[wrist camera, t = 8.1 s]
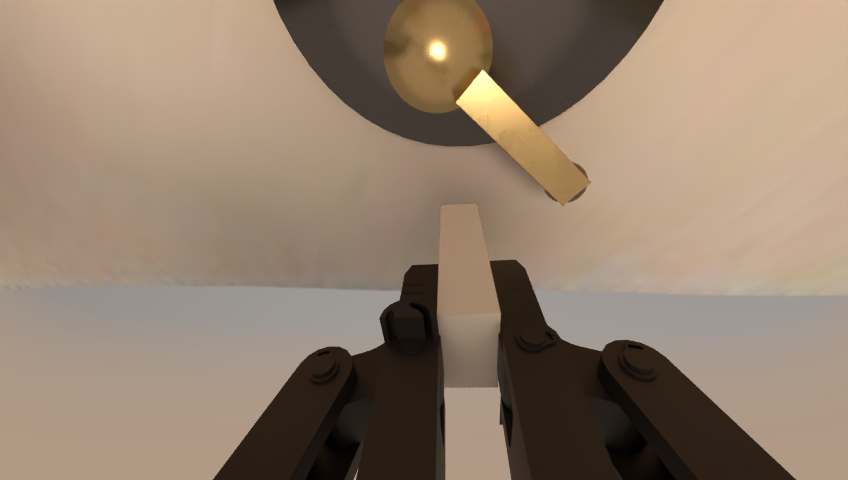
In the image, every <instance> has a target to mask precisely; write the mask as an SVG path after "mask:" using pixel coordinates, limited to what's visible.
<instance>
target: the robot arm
mask: <svg viewBox="0 0 848 480" xmlns="http://www.w3.org/2000/svg"><path fill="white" fill-rule="evenodd" d="M380 323H381V327H382V331H383V336H384V341H385V343H384V344H382V345H380V346H379V347H377V348H375V349H373V350H370V351H367V352H364V353H361V354H357V355H354V356H351V355H350V354H349V353H348V351H347V350H345V349H343V348H341V347H326V348H323V349H319V350H317V351H316V352H314V353H312V354H311V355H309V356H308V357H307V358H306V359H305V360H304V361H303V362H302V363H301V364H300V365H299V366H298V367H297V369H296V370H295V372H294V373H293V374H292V375H291V377H290V378H289V379H288V381H287V382H286V383H285V385H284V386H283V387H282V389H281V390H280V391H279V393H278V394H277V395H276V397H275V398H274V399H273V401H272V402H271V403H270V405H269V406H268V407H267V409H266V410H265V411H264V413H263V414H262V415H261V417H260V418H259V419H258V421H257V422H256V423H255V425H254V426H253V427H252V429H251V430H250V431H249V432H248V434H247V435H246V436H245V438H244V439H243V440H242V442H241V443H240V445H239V446H238V447H237V449H236V450H235V451H234V452H233V454H232V455H231V457H230V458H229V459H228V460H227V462H226V463H225V464H224V466H223V467H222V468H221V470H220V471H219V472H218V474H217V475H216V476H215V478H214V479H213V480H353V479H354V477H355V475H356V472H357V470H358V473H357V478H356V480H445V402H444V387H498V381H499V386H500V393H501V403H500V425H501V424H502V425H503V428H504V434H505V441H506V447H507V454H508V460H509V467H510V473H511V479H512V480H796V479H795V478H793V477H792V476H791V475H790V474H789V473H788V472H787V471H786V470H785V469H784V468H783V467H782V466H781V465H780V464H779V463H778V462H777V461H776V460H774V459H773V458H772V457H771V456H770V455H769V454H768V453H767V452H766V451H765V450H764V449H763V448H762V447H761V446H759V444H757V443H756V442H755V441H754V440H753V439H752V438H751V437H750V436H749V435H748V434H747V433H746V432H745V431H744V430H742V429H741V428H740V427H739V426H738V425H737V424H736V423H735V422H734V421H733V420H732V419H731V418H730V417H729V416H728V415H727V414H726V413H724V412H723V411H722V410H721V409H720V408H719V407H718V406H717V405H716V404H715V403H714V402H713V401H712V400H711V399H710V398H708V397H707V396H706V395H705V394H704V393H703V392H702V391H701V390H700V389H699V388H698V387H696V385H695V384H693V382H691V381H690V380H689V379H688V378H687V377H686V376H685V375H684V374H683V373H682V372H680V370H679V369H678V368H677V367H676V366H674V365H673V364H672V363H671V362H670V361H669V360H668V359H667V358H666V357H665V356H663V355H662V354H660V353H659V352H658V351H656V350H655V349H653V348H651V347H649V346H647V345H644V344H642V343H639V342H635V341H630V340H617V341H616V340H615V341H613V342H611V343H609V344H607V345H606V346H605V348H604V349H603V351H597V350H593V349H589V348H584V347H580V346H577V345H574V344H570V343H568V342H566V341H564V340H562V339H561V338H560V337H559V335H558V334H557V333H556V331H555V330H553V329H552V328H550V327H549V326H548V325H547V324H546V321H545V319H544V316H543V314H542V311H541V308H540V306H539V303H538V301H537V298H536V295H535V293H534V290H533V289H532V285H531V283H530V281H529V277H528V275H527V272H526V270H525V268H524V267H523V266H522V265H521V264H520V263H518V262H517V261H516V260H499V261H489V258H488V253H487V248H486V244H485V239H484V235H483V230H482V226H481V221H480V217H479V212H478V207H477V203H469V204H453V205H441V210H440V239H439V264H431V265H412V266H411V267H410V269H409V270H408V271H407V272H406V273H405V276H404V281H403V287H402V291H401V296H400V300H399V301H397V302H395V303H393V304H391V305H389V306H388V307H387V308H386V309H385V310H384V311H383V313H382V314H381V316H380Z"/></svg>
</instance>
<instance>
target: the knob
mask: <svg viewBox="0 0 848 480" xmlns="http://www.w3.org/2000/svg"><path fill="white" fill-rule="evenodd" d="M492 53H493V41H492V34H491V30H490V26H489V23H488V21H487V18H486V16H485V14H484V12H483V11H482V9H481V8H480V6H479V5H478V4H477V3H476V2H475V1H474V0H404V1H403V2H402V3H401V4H400V5H399V6H398V7H397V9H396V10H395V12H394V13H393V15H392V17H391V19H390V21H389V24H388V26H387V29H386V33H385V37H384V45H383V56H384V64H385V69H386V72H387V76H388V78H389V80H390V83H391V84H392V86H393V88H394V89H395V91H396V92H397V93H398V95H399V96H400V97H401V98H402V99H403V100H404V101H405V102H407V103H408V104H409V105H411V106H412V107H414V108H416V109H418V110H421V111H424V112H428V113H445V112H449V111H453V110H455V109H457V108H460V107H461V108H462V109H463V110H464V111H465V112H466V113H467V114H468V115H469V116H470V117H471V118H472V119H473V120H474V121H475V122H477V123H478V124H479V125H480V126H481V127H482V128H483V129H484V130H485V131H486V132H487V133H488V134H489V135H490V136H491V137H492V138H493V139H494V140H495V141H496V142H497V143H498V144H499V145H500V146H501V147H502V148H503V149H504V150H505V151H506V152H507V153H509V154H510V155H511V156H512V157H513V158H514V159H515V160H516V161H517V162H518V163H519V164H520V165H521V166H522V167H523V168H524V169H525V170H526V171H527V172H528V173H529V174H530V175H531V176H532V177H533V178H534V179H535V180H536V181H537V182H538V183H539V184H541V185H542V186H543V187H544V190H545V193H546V194H547V195H548V197H549V198H551V199H552V200H554V201H556V202H559V203H560V204H561V205H562V206H563V205H565V204H566V203H568V202H572V201H574V200H576V199H578V198H579V197H580V196H581V195H582V194H583V193H584V192H585V190H586V187H587V186H588V185H589V184H590V183H591V182H590V181H589V180H588V177H587V174H586V172H585V170H584V169H583V168H582V167H581V166H580V165H578V164H576V163H574V162H571V161H570V160H569V159H568V158H567V157H566V156H565V155H564V154H563V153H562V152H561V151H560V149H559V148H558V147H557V146H556V145H555V144H554V143H553V142H552V141H551V140H550V139H549V138H548V137H547V136H546V135H545V134H544V133H543V132H542V131H541V130H540V129H539V128H538V127H537V126H536V125H535V124H534V122H533V121H532V120H531V119H530V118H529V117H528V116H527V115H526V114H525V113H524V112H523V111H522V110H521V109H520V108H519V107H518V106H517V105H516V104H515V103H514V102H513V101H512V100H511V99H510V98H509V97H508V95H507V94H506V93H505V92H504V91H503V90H502V89H501V88H500V87H499V86H498V85H497V84H496V83H495V82H494V81H493V80H492V79H491V78H490V77H489V76H488V73H489V69H490V66H491V61H492Z"/></svg>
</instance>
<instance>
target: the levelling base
mask: <svg viewBox="0 0 848 480" xmlns="http://www.w3.org/2000/svg"><path fill="white" fill-rule="evenodd" d="M273 1H274V3H275V5H276V8H277V10H278V13H279V15H280V17H281V19H282V21H283V22H284V24H285V26H286V28H287V30H288V32H289V34H290V35H291V37H292V39H293V41H294V43H295V44H296V46H297V47H298V49H299V50H300V52H301V53H302V55H303V56H304V57H305V59H306V60H307V62H308V63H309V65H310V66H311V67H312V69H313V70H314V71H315V72H316V73H317V75H318V76H319V77H320V78H321V79H322V80H323V82H324V83H325V84H326V85H327V86H328V87H329V88H330V89H331V90H332V91H333V92H334V93H335V94H336V95H337V96H338V97H339V98H340V99H341V100H342V101H343V102H344V103H346V104H347V105H348V106H349V107H351V108H352V109H353V110H355V111H356V112H358V113H359V114H360V115H362V116H363V117H364V118H366V119H367V120H369V121H371V122H373V123H374V124H376V125H378V126H380V127H382V128H383V129H385V130H387V131H390V132H392V133H395V134H397V135H400V136H402V137H405V138H408V139H412V140H415V141H419V142H423V143H427V144H435V145H443V146H473V145H480V144H487V143H493V142H496V141H495V140H494V139H493V138H492V137H491V136H490V135H489V134H488V133H487V132H486V131H485V130H484V129H483V128H482V127H481V126H480V125H479V124H478V123H477V122H475V121H474V120H473V119H472V118H471V117H470V116H469V115H468V114H467V113H466V112H465V111H464V110H463V109H462V108H461V107H460V108H457V109H455V110H453V111H449V112H445V113H428V112H424V111H421V110H418V109H416V108H414V107H412V106H411V105H409V104H408V103H407V102H405V101H404V100H403V99H402V98H401V97H400V96H399V95H398V93H397V92H396V91H395V89H394V88H393V86H392V84H391V83H390V80H389V78H388V76H387V72H386V69H385V64H384V56H383V45H384V37H385V33H386V29H387V26H388V24H389V21H390V19H391V17H392V15H393V13H394V12H395V10H396V9H397V7H398V6H399V5H400V4H401V3H402V2H403V1H404V0H273ZM474 1H475V2H476V3H477V4H478V5H479V6H480V8H481V9H482V11H483V12H484V14H485V16H486V18H487V21H488V23H489V26H490V30H491V34H492V41H493V53H492V61H491V66H490V69H489V73H488V76H489V77H490V78H491V79H492V80H493V81H494V82H495V83H496V84H497V85H498V86H499V87H500V88H501V89H502V90H503V91H504V92H505V93H506V94H507V95H508V97H509V98H510V99H511V100H512V101H513V102H514V103H515V104H516V105H517V106H518V107H519V108H520V109H521V110H522V111H523V112H524V113H525V114H526V115H527V116H528V117H529V118H530V119H531V120H532V121H533V122H534V124H535V125H536V126H537V127H539V126H540V125H542V124H544V123H546V122H548V121H549V120H551V119H553V118H555V117H557V116H558V115H560V114H561V113H563V112H564V111H566V110H567V109H568V108H570V107H571V106H573V105H574V104H575V103H577V102H578V101H580V100H581V99H582V98H584V97H585V96H586V95H587V94H588V93H589V92H590V91H591V90H593V89H594V88H595V87H596V86H597V85H598V84H599V83H600V82H602V81H603V80H604V79H605V78H606V77H607V76H608V74H609V73H610V72H611V71H612V70H613V69H614V68H615V67H616V66H617V65H618V64H619V63H620V61H621V60H622V59H623V58H624V57H625V56H626V55H627V53H628V52H629V51H630V50H631V48H632V47H633V46H634V44H635V43H636V42H637V40H638V39H639V38H640V36H641V35H642V34H643V32H644V31H645V30H646V28H647V27H648V25H649V24H650V22H651V20H652V19H653V17H654V16H655V14H656V12H657V11H658V9H659V7H660V6H661V4H662V3H663V1H664V0H474Z"/></svg>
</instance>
